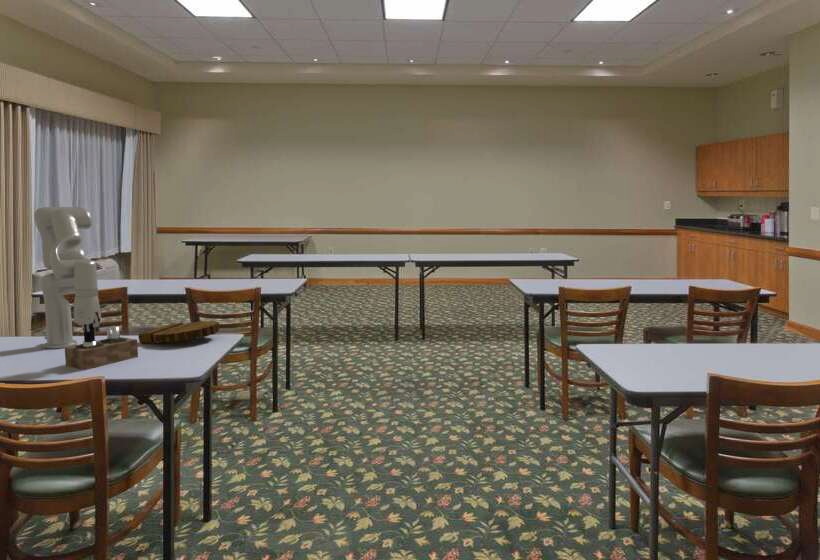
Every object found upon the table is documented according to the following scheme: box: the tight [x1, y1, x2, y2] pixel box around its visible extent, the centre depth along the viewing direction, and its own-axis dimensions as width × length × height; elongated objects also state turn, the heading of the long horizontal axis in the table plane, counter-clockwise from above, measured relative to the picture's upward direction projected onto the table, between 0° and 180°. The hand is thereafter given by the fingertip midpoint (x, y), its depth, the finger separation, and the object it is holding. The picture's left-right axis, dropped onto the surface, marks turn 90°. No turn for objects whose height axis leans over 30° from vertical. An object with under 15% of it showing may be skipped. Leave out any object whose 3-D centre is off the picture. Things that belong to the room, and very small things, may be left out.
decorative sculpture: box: [138, 320, 220, 345], centre depth 265 cm, size 30×7×30 cm
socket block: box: [64, 336, 139, 371], centre depth 227 cm, size 12×22×8 cm, turn 153°
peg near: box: [82, 339, 97, 347], centre depth 222 cm, size 4×4×8 cm
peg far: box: [106, 325, 121, 341], centre depth 230 cm, size 4×4×8 cm
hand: (89, 341), depth 221 cm, fingers closed
